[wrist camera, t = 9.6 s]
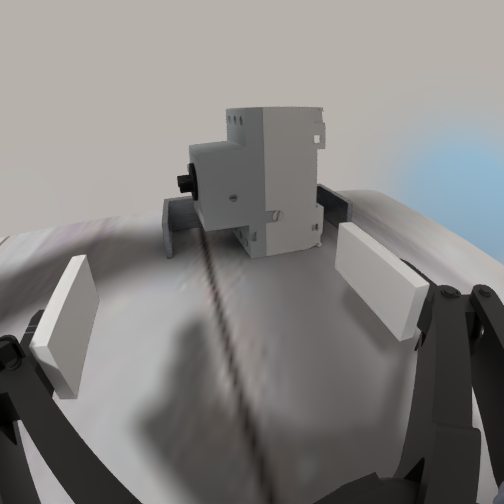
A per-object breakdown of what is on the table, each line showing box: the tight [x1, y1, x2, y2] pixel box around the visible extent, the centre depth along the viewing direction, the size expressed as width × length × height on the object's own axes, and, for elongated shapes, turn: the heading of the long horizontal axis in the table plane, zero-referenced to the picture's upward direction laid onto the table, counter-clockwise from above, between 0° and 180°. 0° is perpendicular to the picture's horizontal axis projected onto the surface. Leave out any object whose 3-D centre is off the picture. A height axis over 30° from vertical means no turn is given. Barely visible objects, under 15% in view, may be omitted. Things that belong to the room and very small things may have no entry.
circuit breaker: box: [177, 107, 325, 259], centre depth 33 cm, size 8×14×15 cm, turn 107°
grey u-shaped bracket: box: [162, 184, 353, 258], centre depth 39 cm, size 22×9×4 cm, turn 103°
